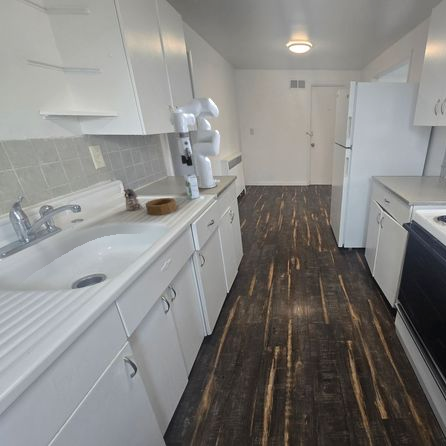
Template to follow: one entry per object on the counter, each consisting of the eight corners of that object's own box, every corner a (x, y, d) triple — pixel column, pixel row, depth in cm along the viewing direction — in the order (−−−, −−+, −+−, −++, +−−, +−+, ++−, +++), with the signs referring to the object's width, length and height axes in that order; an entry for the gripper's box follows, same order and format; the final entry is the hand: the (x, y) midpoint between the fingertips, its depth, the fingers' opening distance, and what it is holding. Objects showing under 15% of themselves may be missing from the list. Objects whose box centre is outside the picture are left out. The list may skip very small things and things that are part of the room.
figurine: (143, 208, 147) (138, 188, 142) (130, 211, 142) (124, 191, 137) (137, 205, 151) (132, 186, 146) (124, 209, 145) (118, 189, 141)
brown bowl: (172, 204, 153) (171, 196, 151) (179, 210, 142) (178, 202, 140) (145, 209, 144) (143, 201, 142) (151, 217, 134) (148, 208, 132)
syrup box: (187, 197, 166) (183, 175, 160) (196, 195, 170) (192, 173, 164) (191, 199, 162) (187, 176, 156) (200, 197, 166) (196, 175, 160)
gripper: (193, 136, 146) (198, 165, 153) (184, 134, 159) (189, 162, 165) (179, 136, 142) (185, 167, 149) (171, 135, 154) (177, 163, 161)
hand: (187, 164), depth 157 cm, fingers open, 9 cm apart
